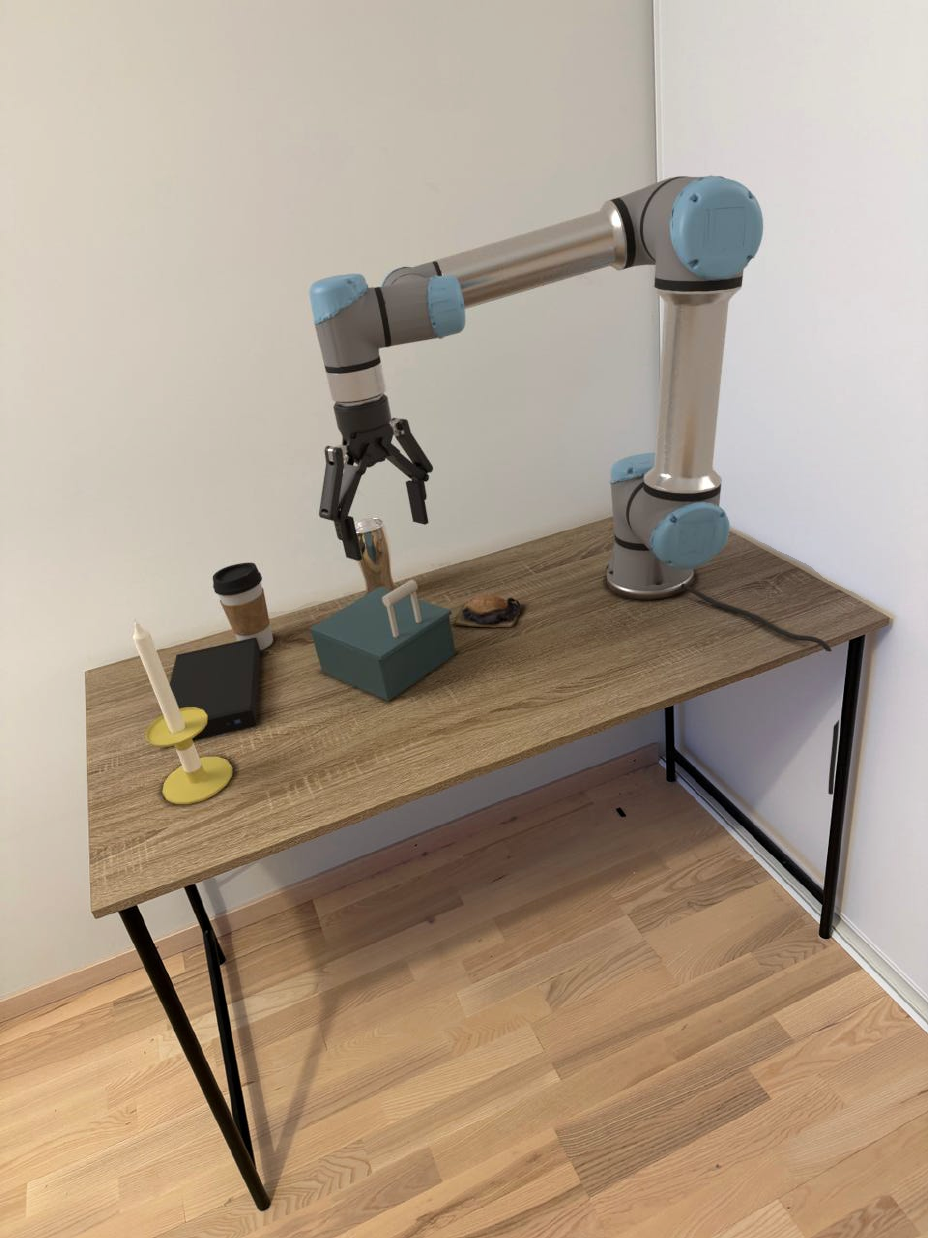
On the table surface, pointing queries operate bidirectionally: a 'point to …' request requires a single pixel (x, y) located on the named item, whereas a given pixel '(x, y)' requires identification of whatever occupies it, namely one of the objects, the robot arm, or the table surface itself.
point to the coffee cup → (244, 602)
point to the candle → (180, 735)
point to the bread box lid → (382, 621)
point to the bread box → (387, 661)
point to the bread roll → (489, 612)
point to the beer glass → (374, 554)
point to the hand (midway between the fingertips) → (388, 539)
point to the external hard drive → (220, 685)
